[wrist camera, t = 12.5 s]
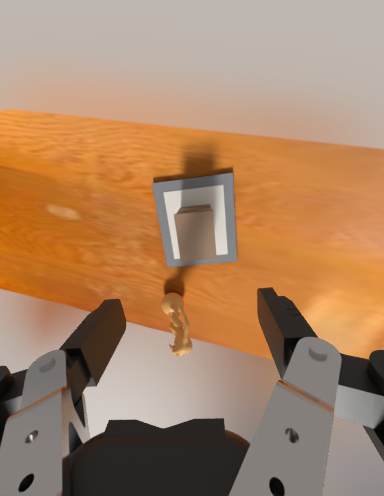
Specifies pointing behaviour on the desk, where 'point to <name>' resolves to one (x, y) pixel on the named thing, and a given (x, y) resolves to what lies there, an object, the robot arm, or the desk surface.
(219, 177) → the mat
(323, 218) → the desk surface
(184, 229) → the walnut box
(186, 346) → the figurine
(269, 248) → the desk surface
